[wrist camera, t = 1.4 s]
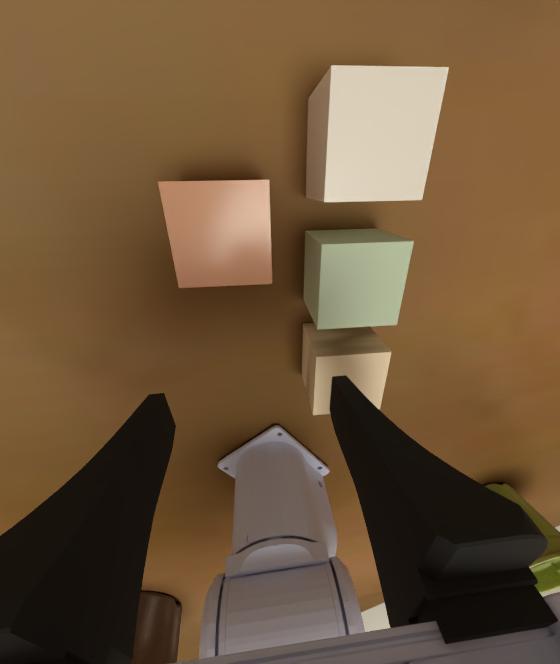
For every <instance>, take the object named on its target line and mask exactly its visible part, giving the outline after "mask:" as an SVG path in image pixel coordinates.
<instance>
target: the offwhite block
mask: <svg viewBox="0 0 560 664" xmlns="http://www.w3.org/2000/svg"><path fill="white" fill-rule="evenodd" d="M448 70H449V67H401V66H341V65H331V67H330V68H329V70H328V71H327V72H326V74H325V75H324V77H323V78H322V80H321V81H320V82H319V84H318V85H317V87H316V88H315V90H314V91H313V92H312V94H311V95H310V97H309V98H308V128H307V168H306V198H308V199H312V200H317V201H321V202H358V201H400V200H422V197H423V193H424V188H425V183H426V178H427V173H428V168H429V163H430V158H431V153H432V148H433V143H434V138H435V134H436V129H437V124H438V119H439V114H440V109H441V104H442V99H443V94H444V89H445V84H446V80H447V75H448Z"/></svg>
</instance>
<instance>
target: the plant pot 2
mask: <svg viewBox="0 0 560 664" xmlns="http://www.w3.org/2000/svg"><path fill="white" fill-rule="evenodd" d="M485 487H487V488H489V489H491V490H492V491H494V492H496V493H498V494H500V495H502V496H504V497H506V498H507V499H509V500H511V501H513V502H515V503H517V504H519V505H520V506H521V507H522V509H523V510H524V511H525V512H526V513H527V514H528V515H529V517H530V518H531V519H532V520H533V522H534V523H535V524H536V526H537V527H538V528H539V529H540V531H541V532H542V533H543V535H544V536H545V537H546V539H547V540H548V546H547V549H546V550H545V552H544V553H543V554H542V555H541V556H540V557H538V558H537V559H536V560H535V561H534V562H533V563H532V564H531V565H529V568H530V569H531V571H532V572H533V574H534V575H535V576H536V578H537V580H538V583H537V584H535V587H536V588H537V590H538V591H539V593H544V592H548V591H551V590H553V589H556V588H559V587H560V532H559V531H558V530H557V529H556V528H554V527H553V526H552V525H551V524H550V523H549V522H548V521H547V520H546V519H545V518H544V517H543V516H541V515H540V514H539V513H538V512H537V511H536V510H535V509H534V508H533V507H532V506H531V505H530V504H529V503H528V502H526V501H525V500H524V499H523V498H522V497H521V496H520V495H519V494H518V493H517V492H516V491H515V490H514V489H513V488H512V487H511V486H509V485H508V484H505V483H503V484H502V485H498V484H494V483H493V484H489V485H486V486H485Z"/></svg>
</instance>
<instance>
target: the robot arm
mask: <svg viewBox="0 0 560 664" xmlns="http://www.w3.org/2000/svg"><path fill="white" fill-rule="evenodd" d="M329 410H330V414H331V418H332V422H333V426H334V430H335V433H336V436H337V439H338V441H339V444H340V447H341V449H342V452H343V455H344V457H345V460H346V462H347V465H348V468H349V470H350V473H351V476H352V478H353V481H354V484H355V487H356V490H357V494H358V497H359V501H360V504H361V508H362V512H363V515H364V519H365V523H366V527H367V531H368V534H369V538H370V542H371V546H372V550H373V554H374V558H375V562H376V567H377V571H378V575H379V579H380V584H381V588H382V592H383V597H384V601H385V605H386V610H387V615H388V619H389V624H390V627H391V628H389V629H382V630H376V631H370V632H365V631H364V625H363V620H362V616H361V611H360V607H359V603H358V599H357V595H356V592H355V588H354V585H353V582H352V579H351V576H350V573H349V571H348V569H347V567H346V566H345V565H344V564H343V563H342V562H341V561H340V560H339V558H338V557H335V554H336V548H337V532H336V527H335V523H334V519H333V515H332V511H331V507H330V503H329V499H328V495H327V492H326V488H325V484H324V480H323V476H325V475H327V474H328V473H329V468H328V467H327V466H326V465H325V464H323V463H322V462H321V461H320V460H319V459H318V458H316V457H315V456H314V455H313V454H312V453H311V452H309V451H308V450H307V449H306V448H305V447H304V446H303V445H301V444H300V443H299V442H298V441H297V440H296V439H294V438H293V437H292V436H291V435H290V434H289V433H287V432H286V431H285V430H284V429H283V428H282V427H280V426H278V425H275V426H273V427H271V428H270V429H268V430H267V431H265V432H264V433H262V434H260V435H259V436H257V437H256V438H254V439H253V440H251V441H250V442H248V443H247V444H245V445H243V446H242V447H240V448H239V449H237V450H236V451H234V452H233V453H231V454H229V455H228V456H226V457H225V458H223V459H222V460H220V461H219V462H218V468H219V469H221V470H222V471H224V472H225V473H227V474H228V475H230V476H231V477H233V478H234V479H235V497H234V517H233V538H232V555H231V556H227V557H226V570H225V573H223V574H218V575H217V576H216V578H215V579H214V582H213V583H212V585H211V586H210V588H209V590H208V592H207V595H206V599H205V604H204V609H203V616H202V624H201V634H200V651H199V659H196V660H189V661H183V662H177V663H171V664H560V592H558V593H554V594H550V595H547V596H545V597H542V596H541V594H540V593H539V591H538V590H537V588H536V587H535V584H537V583H538V580H537V578H536V576H535V575H534V574H533V572H532V571H531V569H530V568H529V565H531V564H532V563H533V562H534V561H535V560H536V559H537V558H538V557H540V556H541V555H542V554H543V553H544V552H545V550H546V549H547V546H548V540H547V539H546V537H545V536H544V535H543V533H542V532H541V531H540V529H539V528H538V527H537V526H536V524H535V523H534V522H533V520H532V519H531V518H530V517H529V515H528V514H527V513H526V512H525V511H524V510H523V509H522V507H521V506H520V505H519V504H517V503H515V502H513V501H511V500H509V499H507V498H506V497H504V496H502V495H500V494H498V493H496V492H494V491H492V490H491V489H489V488H487V487H485V486H483V485H481V484H480V483H478V482H476V481H474V480H473V479H471V478H469V477H468V476H466V475H464V474H463V473H461V472H459V471H458V470H456V469H455V468H453V467H451V466H450V465H448V464H447V463H445V462H444V461H442V460H441V459H439V458H438V457H436V456H435V455H433V454H432V453H430V452H429V451H428V450H426V449H425V448H424V447H422V446H421V445H419V444H418V443H417V442H416V441H414V440H413V439H412V438H410V437H409V436H408V435H407V434H406V433H404V432H403V431H402V430H401V429H400V428H398V427H397V426H396V425H395V424H394V423H393V422H392V421H390V420H389V419H388V418H387V417H386V416H385V415H384V414H383V413H382V412H381V411H380V410H379V409H378V408H377V407H376V406H375V405H374V404H373V403H372V402H371V401H370V400H369V399H368V398H367V397H366V396H365V395H364V394H363V393H362V392H361V391H360V390H359V389H358V388H357V387H356V386H355V384H354V383H353V382H352V381H351V380H350V379H349V378H348V377H347V376H346V375H343V376H333V377H332V384H331V396H330V408H329ZM175 427H176V425H175V422H174V420H173V417H172V414H171V411H170V408H169V406H168V403H167V400H166V397H165V395H164V393H160V394H150V395H148V397H147V398H146V399H145V400H144V401H143V402H142V403H141V405H140V406H139V407H138V408H137V409H136V410H135V412H134V413H133V414H132V415H131V416H130V417H129V419H128V420H127V421H126V422H125V423H124V424H123V426H122V427H121V428H120V429H119V430H118V431H117V432H116V433H115V435H114V436H113V437H112V438H111V439H110V440H109V441H108V442H107V443H106V444H105V445H104V447H103V448H102V449H101V450H100V451H99V452H98V453H97V454H96V455H95V456H94V457H93V458H92V459H91V460H90V461H89V462H88V463H87V464H86V465H85V466H84V467H83V468H82V469H81V470H80V471H79V472H78V473H77V474H75V475H74V476H73V477H72V478H71V479H70V480H69V481H68V482H67V483H66V484H65V485H63V486H62V487H61V488H60V489H59V490H58V491H56V492H55V493H54V494H53V495H52V496H50V497H49V498H48V499H47V500H46V501H44V502H43V503H42V504H41V505H40V506H38V507H37V508H36V509H35V510H34V511H32V512H31V513H30V514H29V515H27V516H26V517H25V518H24V519H22V520H21V521H20V522H18V523H17V524H16V525H14V526H13V527H12V528H11V529H9V530H8V531H7V532H5V533H4V534H2V535H1V536H0V664H130V662H131V661H132V658H133V649H134V640H135V632H136V624H137V615H138V607H139V600H140V594H141V587H142V580H143V573H144V567H145V561H146V555H147V549H148V543H149V538H150V532H151V527H152V522H153V517H154V513H155V508H156V504H157V501H158V497H159V494H160V490H161V487H162V483H163V480H164V476H165V473H166V469H167V466H168V462H169V459H170V455H171V451H172V447H173V441H174V434H175Z"/></svg>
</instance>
